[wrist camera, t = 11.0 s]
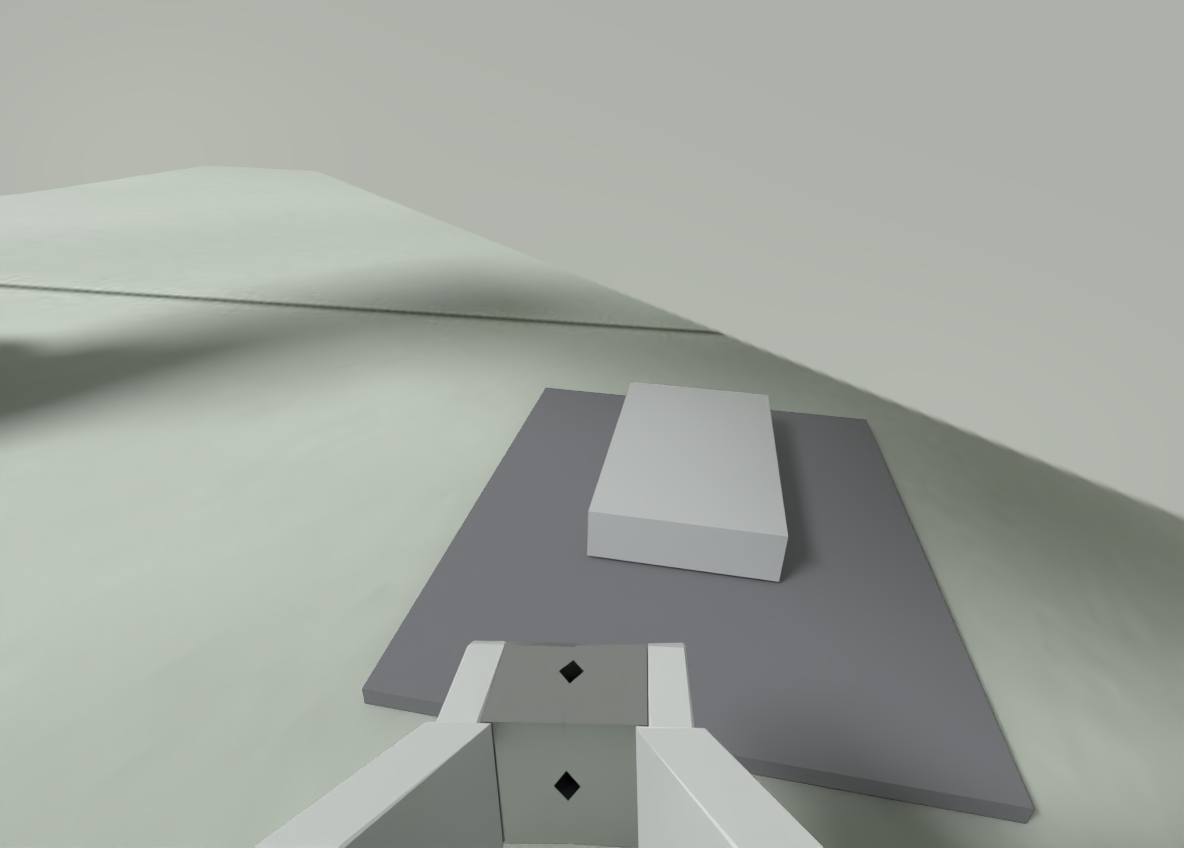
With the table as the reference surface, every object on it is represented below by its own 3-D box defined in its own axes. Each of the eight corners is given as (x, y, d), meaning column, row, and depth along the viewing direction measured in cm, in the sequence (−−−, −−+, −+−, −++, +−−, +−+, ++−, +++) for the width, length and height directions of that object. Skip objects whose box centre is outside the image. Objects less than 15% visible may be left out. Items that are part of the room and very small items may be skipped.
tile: (788, 536, 22) (767, 394, 33) (588, 511, 23) (630, 381, 34) (778, 585, 23) (761, 432, 34) (586, 558, 24) (628, 418, 35)
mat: (1025, 823, 16) (1034, 808, 16) (364, 703, 19) (361, 688, 19) (863, 429, 36) (866, 419, 35) (546, 397, 38) (545, 387, 38)
